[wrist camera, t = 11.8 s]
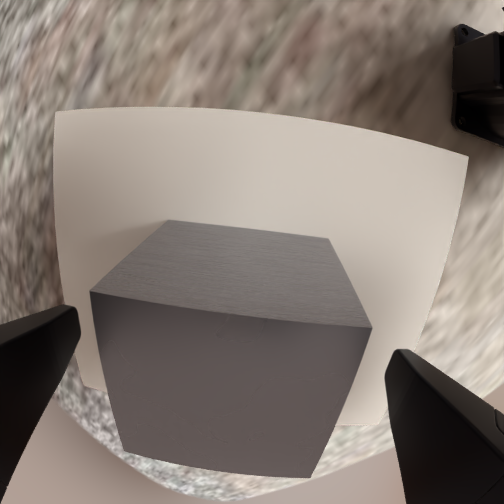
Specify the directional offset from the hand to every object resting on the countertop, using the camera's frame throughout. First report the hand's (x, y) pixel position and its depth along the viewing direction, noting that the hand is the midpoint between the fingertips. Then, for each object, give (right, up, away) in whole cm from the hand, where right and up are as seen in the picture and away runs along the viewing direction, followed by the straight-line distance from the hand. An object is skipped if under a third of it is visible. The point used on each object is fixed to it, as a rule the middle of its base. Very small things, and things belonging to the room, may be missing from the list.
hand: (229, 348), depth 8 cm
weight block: (0, +1, +3) cm, 3 cm away
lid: (0, +1, +3) cm, 3 cm away
